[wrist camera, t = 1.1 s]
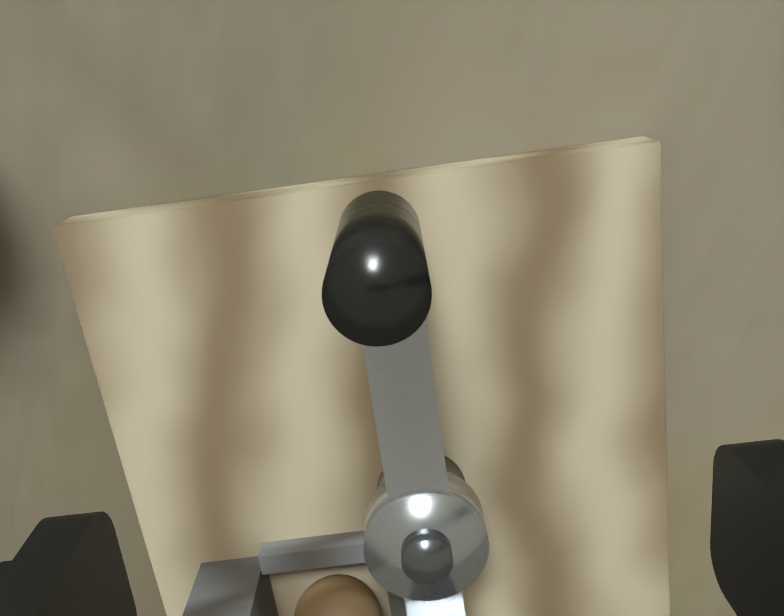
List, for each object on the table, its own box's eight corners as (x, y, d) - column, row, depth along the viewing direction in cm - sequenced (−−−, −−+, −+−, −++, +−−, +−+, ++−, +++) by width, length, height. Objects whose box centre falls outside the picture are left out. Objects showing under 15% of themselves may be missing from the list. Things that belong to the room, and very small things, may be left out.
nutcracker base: (643, 136, 31) (714, 160, 24) (655, 591, 38) (712, 706, 31) (72, 216, 31) (-12, 261, 25) (194, 645, 39) (155, 767, 32)
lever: (441, 168, 28) (469, 228, 18) (494, 620, 34) (533, 828, 25) (308, 187, 28) (269, 255, 19) (386, 632, 35) (386, 843, 25)
